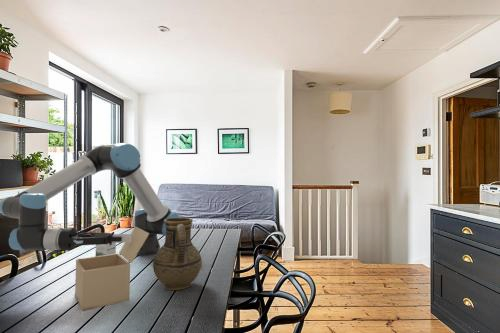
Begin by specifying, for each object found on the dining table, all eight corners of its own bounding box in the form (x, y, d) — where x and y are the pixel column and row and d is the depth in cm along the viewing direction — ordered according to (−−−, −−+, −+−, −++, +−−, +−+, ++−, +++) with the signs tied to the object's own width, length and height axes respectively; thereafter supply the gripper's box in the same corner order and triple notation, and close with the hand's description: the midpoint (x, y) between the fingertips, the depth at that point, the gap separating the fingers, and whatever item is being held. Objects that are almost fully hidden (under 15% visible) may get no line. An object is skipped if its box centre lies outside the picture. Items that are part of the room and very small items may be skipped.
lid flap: (135, 226, 120) (136, 227, 120) (118, 252, 116) (120, 253, 116) (148, 232, 108) (149, 233, 108) (129, 262, 104) (131, 263, 104)
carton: (75, 293, 108) (76, 259, 108) (117, 285, 116) (118, 253, 116) (82, 310, 95) (82, 271, 95) (129, 300, 103) (130, 264, 104)
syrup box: (116, 272, 131) (116, 238, 132) (105, 277, 126) (106, 241, 126) (105, 271, 133) (106, 237, 133) (94, 275, 128) (95, 239, 128)
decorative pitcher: (206, 294, 109) (207, 223, 110) (153, 300, 103) (155, 225, 104) (196, 274, 130) (197, 214, 130) (151, 279, 124) (153, 216, 124)
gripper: (70, 245, 115) (136, 244, 118) (52, 254, 102) (127, 253, 105) (70, 224, 115) (136, 224, 118) (52, 231, 102) (127, 231, 105)
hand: (132, 238), depth 112 cm, fingers closed
